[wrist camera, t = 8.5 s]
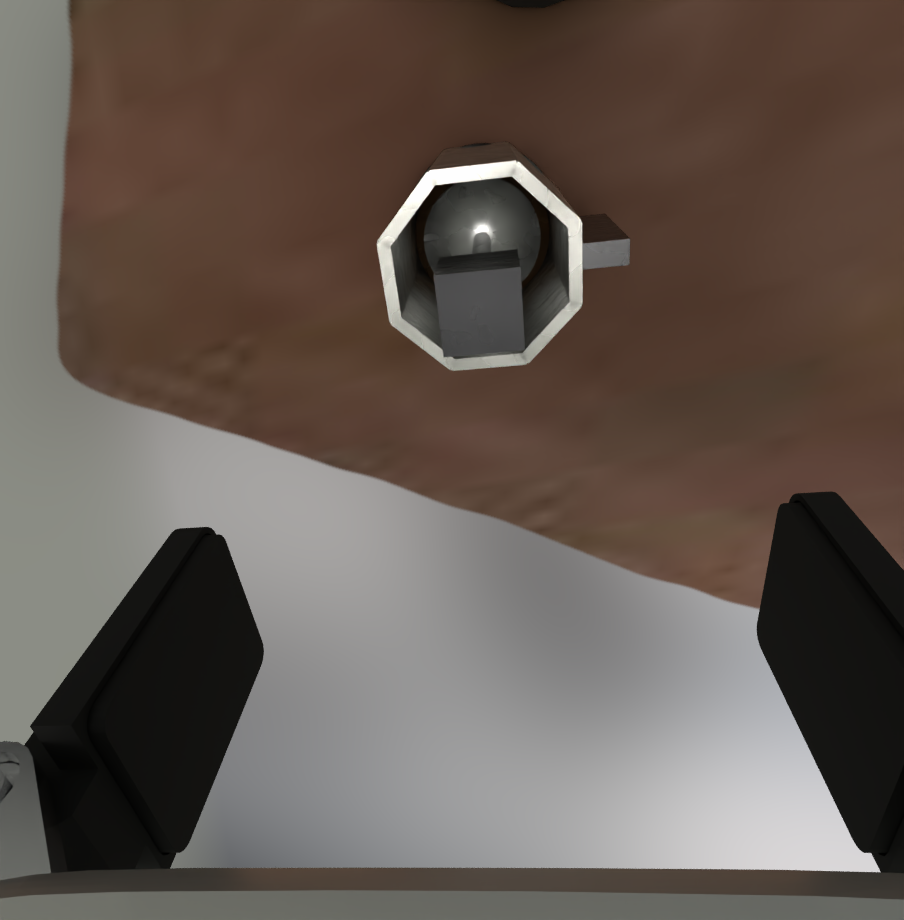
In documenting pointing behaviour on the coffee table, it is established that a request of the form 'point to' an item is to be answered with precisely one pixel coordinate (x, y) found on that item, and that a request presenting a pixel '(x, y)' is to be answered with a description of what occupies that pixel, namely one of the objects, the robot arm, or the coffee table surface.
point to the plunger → (481, 264)
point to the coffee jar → (530, 3)
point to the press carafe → (543, 291)
